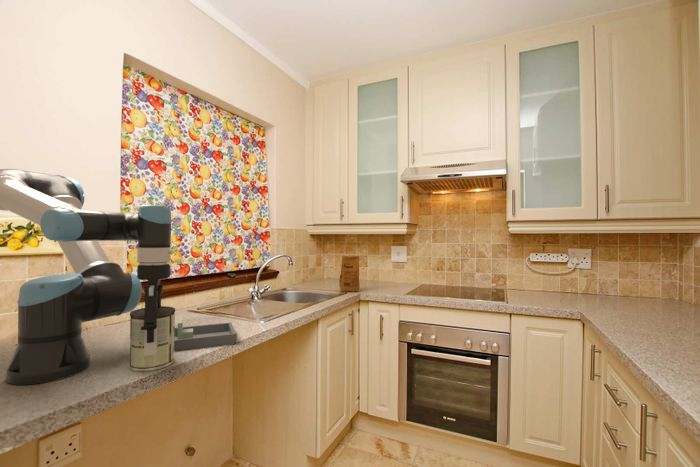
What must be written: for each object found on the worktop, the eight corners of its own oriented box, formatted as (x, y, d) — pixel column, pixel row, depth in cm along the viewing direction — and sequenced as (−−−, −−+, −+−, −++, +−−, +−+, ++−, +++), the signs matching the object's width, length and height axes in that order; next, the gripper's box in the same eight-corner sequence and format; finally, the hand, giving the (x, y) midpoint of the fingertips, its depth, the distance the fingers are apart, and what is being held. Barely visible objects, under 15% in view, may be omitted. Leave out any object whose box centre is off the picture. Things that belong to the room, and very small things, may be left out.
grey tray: (171, 351, 97) (171, 340, 97) (173, 336, 110) (174, 327, 110) (236, 343, 104) (236, 333, 105) (231, 330, 118) (231, 322, 118)
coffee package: (339, 289, 211) (339, 255, 211) (358, 289, 212) (359, 255, 212) (339, 292, 201) (339, 256, 201) (359, 292, 202) (360, 256, 202)
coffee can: (123, 364, 87) (124, 310, 87) (165, 353, 95) (165, 304, 95) (137, 375, 80) (138, 317, 80) (181, 363, 88) (182, 310, 88)
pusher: (177, 346, 99) (177, 323, 99) (178, 335, 110) (179, 314, 110) (192, 345, 101) (193, 322, 101) (192, 334, 111) (193, 313, 111)
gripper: (167, 267, 79) (165, 360, 79) (172, 260, 99) (171, 334, 99) (130, 268, 76) (128, 365, 76) (143, 260, 96) (141, 337, 96)
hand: (152, 347), depth 87 cm, fingers closed on coffee can, 10 cm apart
